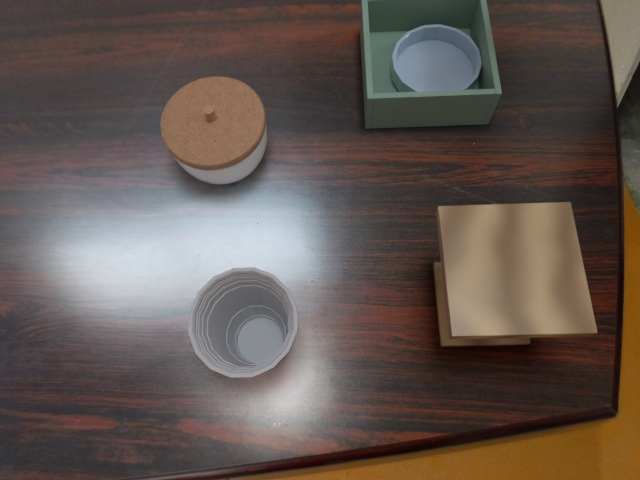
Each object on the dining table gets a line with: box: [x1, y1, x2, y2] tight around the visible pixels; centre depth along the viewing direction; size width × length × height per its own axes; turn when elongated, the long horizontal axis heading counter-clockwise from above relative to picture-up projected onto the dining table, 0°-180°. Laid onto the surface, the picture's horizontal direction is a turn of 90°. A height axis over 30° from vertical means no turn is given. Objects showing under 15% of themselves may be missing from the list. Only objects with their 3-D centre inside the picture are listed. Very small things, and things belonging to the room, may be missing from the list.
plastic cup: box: [187, 266, 298, 378], centre depth 57 cm, size 11×11×12 cm
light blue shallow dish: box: [391, 24, 482, 92], centre depth 73 cm, size 12×12×3 cm
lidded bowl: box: [159, 75, 268, 185], centre depth 67 cm, size 13×13×11 cm
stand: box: [432, 201, 598, 348], centre depth 57 cm, size 13×13×14 cm
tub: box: [359, 0, 503, 130], centre depth 72 cm, size 17×17×7 cm
